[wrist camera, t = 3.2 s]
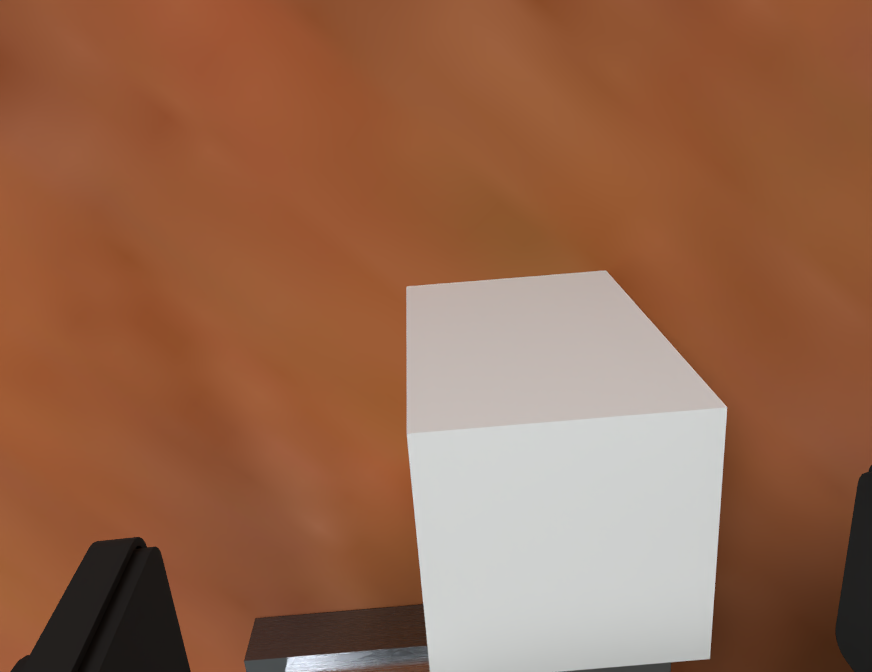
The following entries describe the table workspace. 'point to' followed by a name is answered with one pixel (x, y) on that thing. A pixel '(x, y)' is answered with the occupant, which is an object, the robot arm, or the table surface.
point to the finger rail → (341, 642)
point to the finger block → (559, 479)
